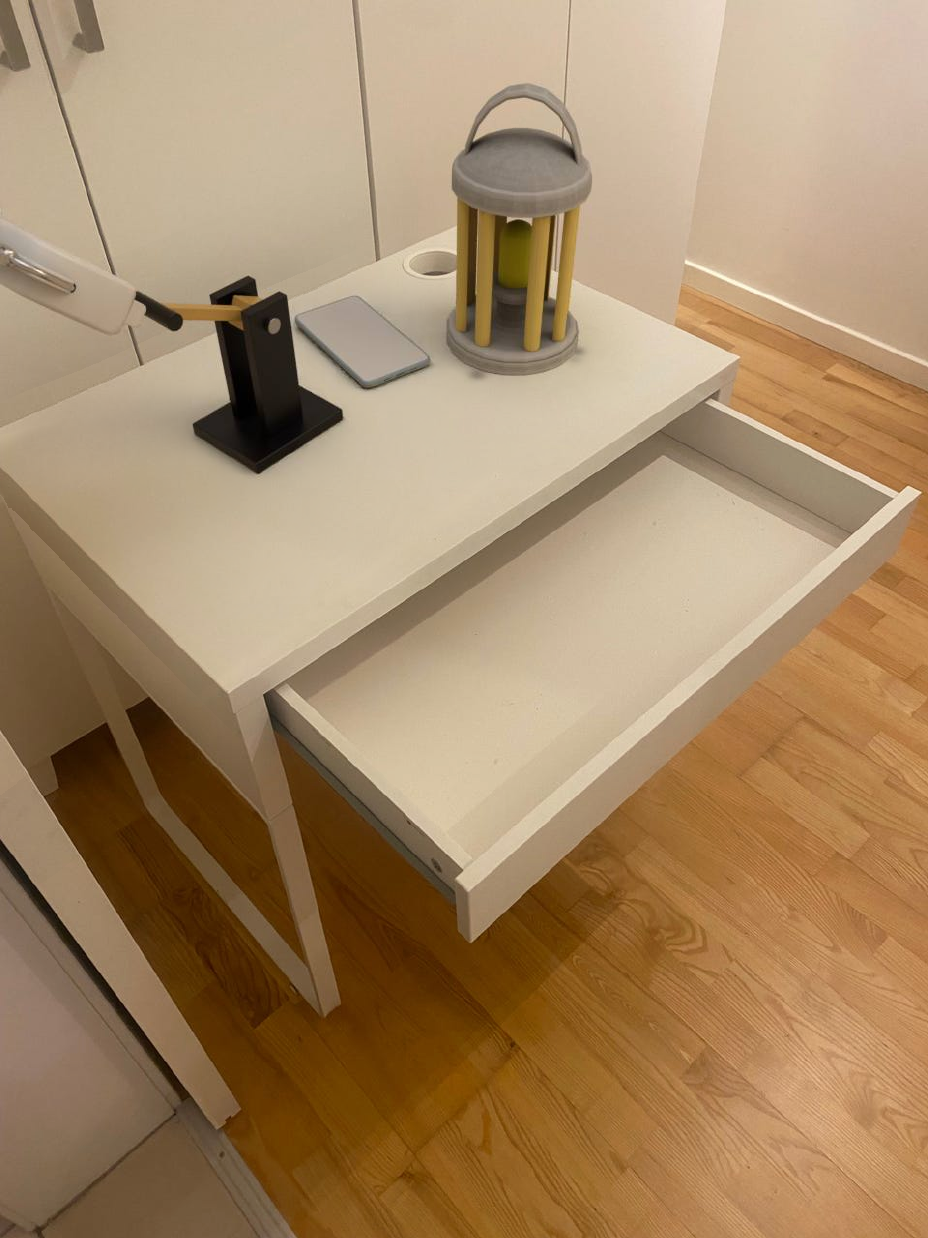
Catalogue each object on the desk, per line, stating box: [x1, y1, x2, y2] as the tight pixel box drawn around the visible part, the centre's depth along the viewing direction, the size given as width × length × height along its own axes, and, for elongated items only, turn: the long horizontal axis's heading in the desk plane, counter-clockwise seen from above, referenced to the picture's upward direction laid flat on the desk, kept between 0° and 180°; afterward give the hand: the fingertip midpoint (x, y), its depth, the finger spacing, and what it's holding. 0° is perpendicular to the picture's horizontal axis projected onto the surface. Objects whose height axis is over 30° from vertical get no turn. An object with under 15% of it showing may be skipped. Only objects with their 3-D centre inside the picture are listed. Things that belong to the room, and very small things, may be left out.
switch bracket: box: [191, 275, 344, 474], centre depth 87 cm, size 11×9×14 cm
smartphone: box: [293, 295, 431, 389], centre depth 101 cm, size 8×1×15 cm
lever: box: [135, 290, 264, 332], centre depth 79 cm, size 12×5×2 cm, turn 139°
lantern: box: [445, 82, 593, 376], centre depth 94 cm, size 14×14×25 cm
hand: (96, 292), depth 71 cm, fingers open, 8 cm apart
